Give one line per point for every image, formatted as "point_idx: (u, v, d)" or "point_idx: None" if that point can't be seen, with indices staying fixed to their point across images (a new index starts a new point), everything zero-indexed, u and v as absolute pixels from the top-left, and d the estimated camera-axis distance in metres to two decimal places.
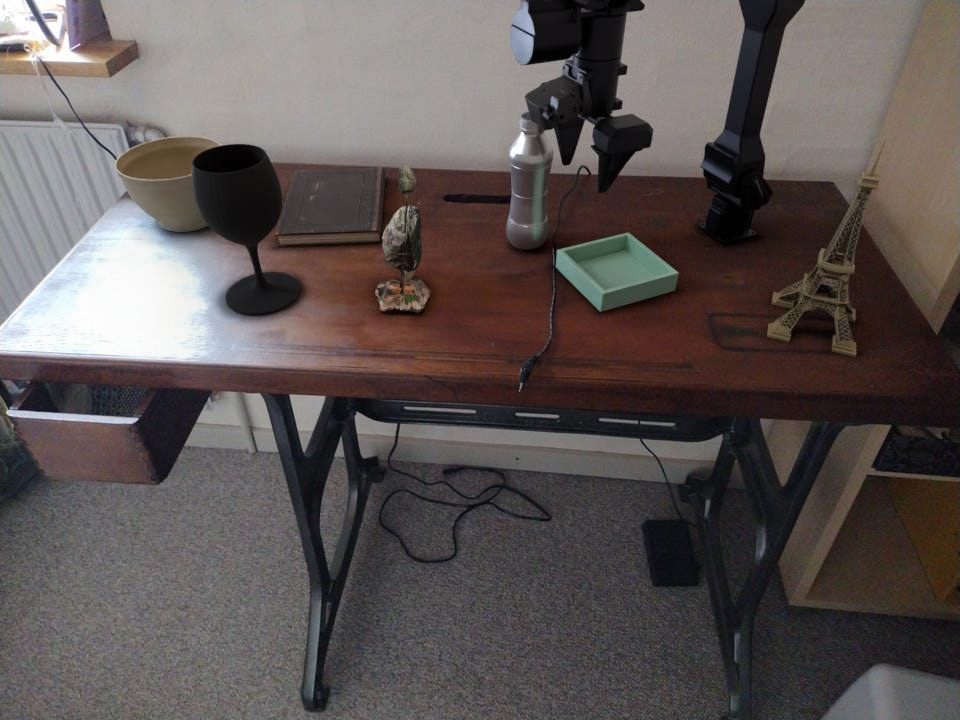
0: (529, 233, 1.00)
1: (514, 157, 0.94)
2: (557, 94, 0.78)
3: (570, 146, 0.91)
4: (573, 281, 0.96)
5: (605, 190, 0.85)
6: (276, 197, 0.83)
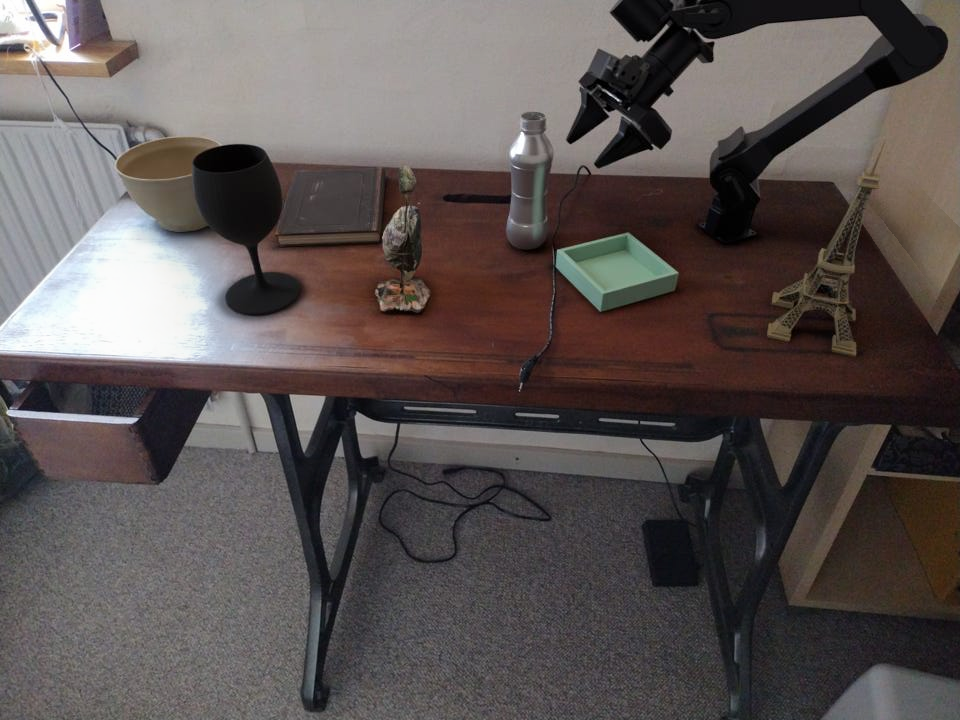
0: (529, 233, 1.00)
1: (514, 157, 0.94)
2: None
3: (581, 131, 1.01)
4: (573, 281, 0.96)
5: (600, 166, 0.94)
6: (276, 197, 0.83)
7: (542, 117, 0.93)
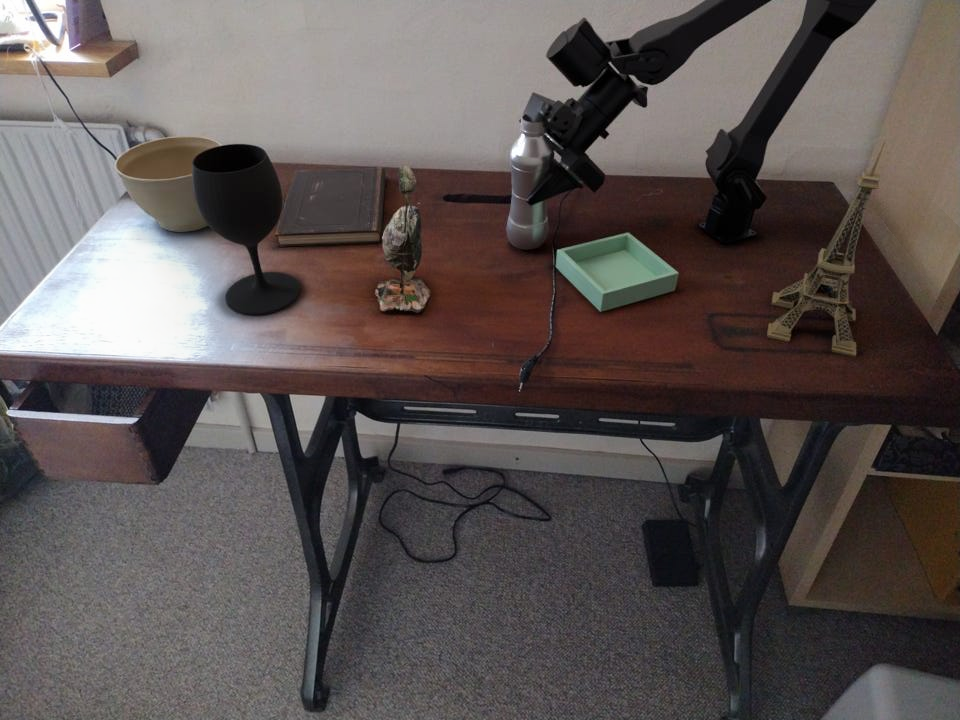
0: (529, 234, 1.00)
1: (515, 159, 0.93)
2: None
3: None
4: (573, 281, 0.96)
5: (532, 203, 0.96)
6: (276, 197, 0.83)
7: None
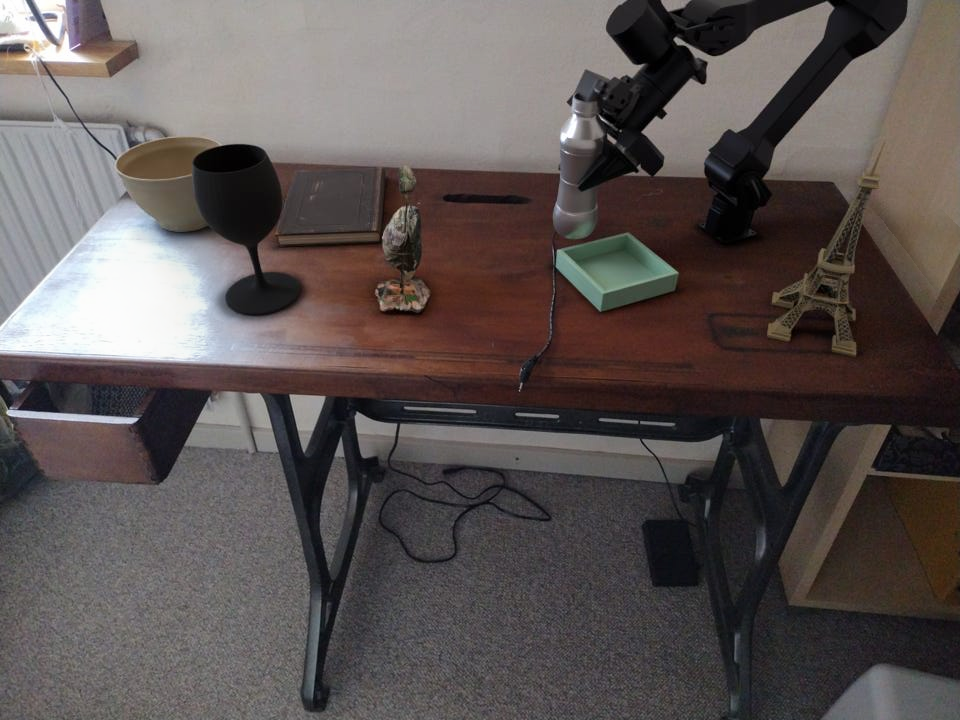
0: (577, 223, 0.94)
1: (565, 141, 0.87)
2: None
3: None
4: (573, 281, 0.96)
5: (583, 189, 0.90)
6: (276, 197, 0.83)
7: None
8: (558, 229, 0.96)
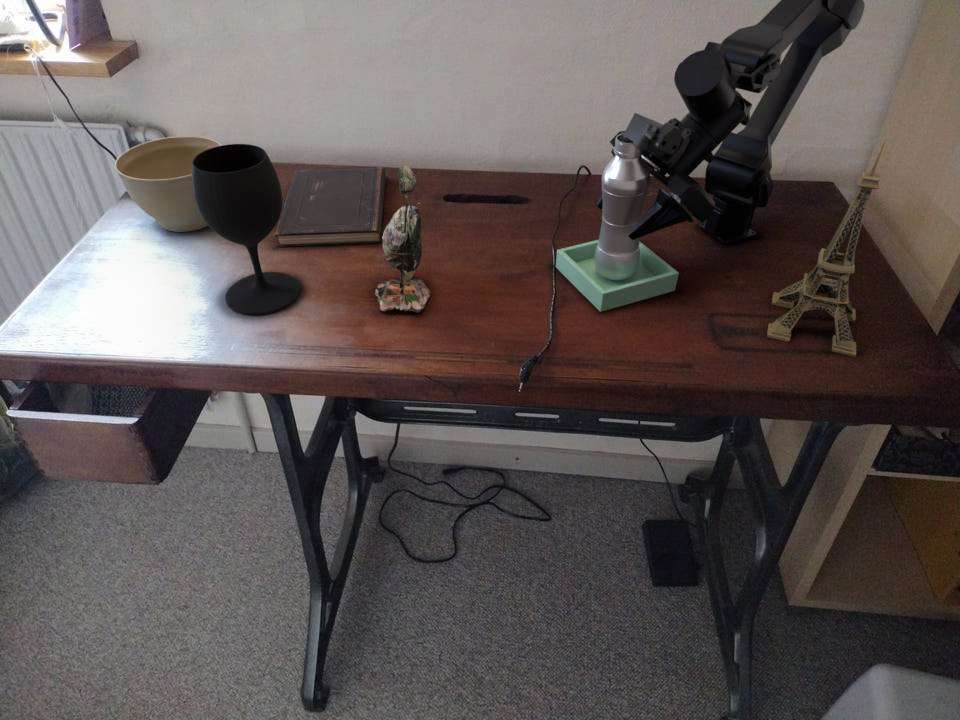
0: (621, 263, 0.92)
1: (608, 183, 0.86)
2: None
3: None
4: (573, 281, 0.96)
5: (634, 237, 0.87)
6: (276, 197, 0.83)
7: None
8: (601, 270, 0.94)
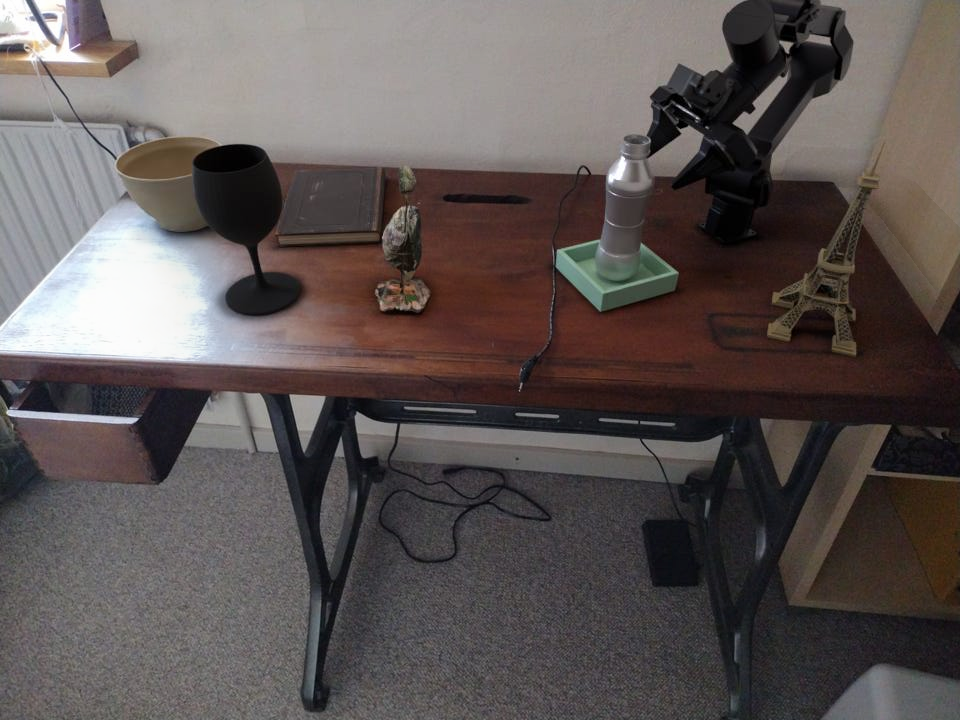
0: (622, 264, 0.92)
1: (613, 183, 0.86)
2: None
3: (652, 148, 0.96)
4: (573, 281, 0.96)
5: (676, 187, 0.89)
6: (276, 197, 0.83)
7: (645, 140, 0.85)
8: (601, 271, 0.94)
